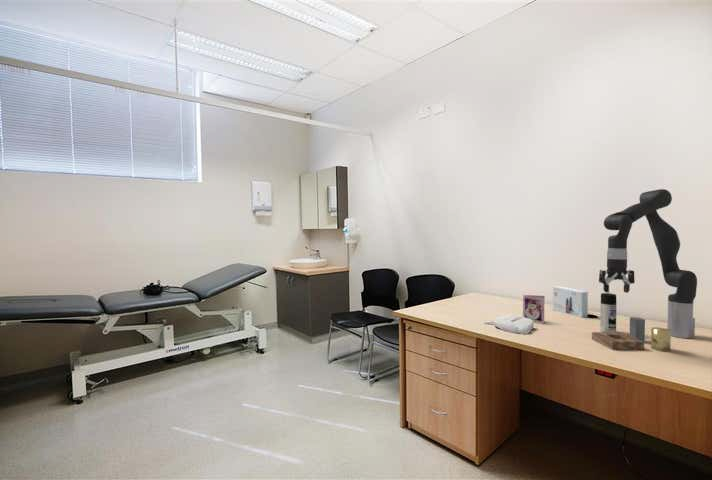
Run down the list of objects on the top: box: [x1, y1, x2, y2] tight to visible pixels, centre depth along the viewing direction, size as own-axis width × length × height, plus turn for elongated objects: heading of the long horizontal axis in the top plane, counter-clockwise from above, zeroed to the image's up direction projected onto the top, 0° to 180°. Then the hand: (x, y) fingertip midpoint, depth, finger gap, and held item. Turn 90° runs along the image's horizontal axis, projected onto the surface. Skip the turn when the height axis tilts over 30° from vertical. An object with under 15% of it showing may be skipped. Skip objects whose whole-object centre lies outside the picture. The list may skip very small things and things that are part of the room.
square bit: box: [629, 316, 646, 343], centre depth 164 cm, size 4×4×11 cm
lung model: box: [483, 315, 535, 335], centre depth 188 cm, size 7×17×25 cm
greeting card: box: [522, 294, 545, 325], centre depth 199 cm, size 11×7×15 cm, turn 42°
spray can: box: [600, 292, 617, 332], centre depth 178 cm, size 7×7×20 cm
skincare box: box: [552, 285, 589, 319], centre depth 216 cm, size 21×5×16 cm, turn 17°
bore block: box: [591, 331, 645, 351], centre depth 160 cm, size 14×14×4 cm
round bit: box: [650, 326, 672, 353], centre depth 153 cm, size 6×6×9 cm
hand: (616, 292), depth 160 cm, fingers open, 8 cm apart
